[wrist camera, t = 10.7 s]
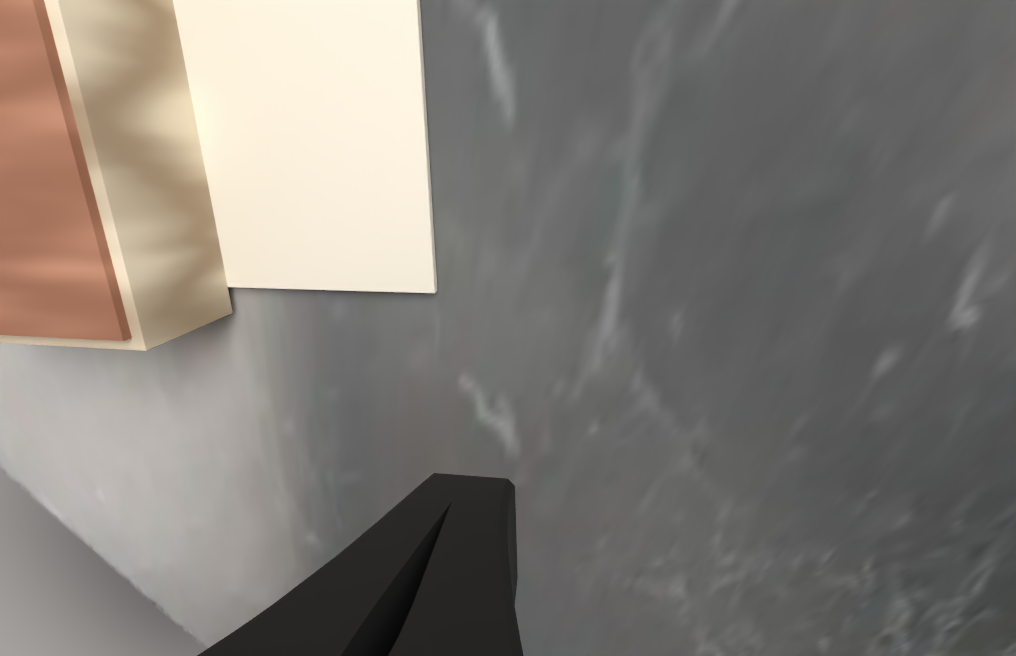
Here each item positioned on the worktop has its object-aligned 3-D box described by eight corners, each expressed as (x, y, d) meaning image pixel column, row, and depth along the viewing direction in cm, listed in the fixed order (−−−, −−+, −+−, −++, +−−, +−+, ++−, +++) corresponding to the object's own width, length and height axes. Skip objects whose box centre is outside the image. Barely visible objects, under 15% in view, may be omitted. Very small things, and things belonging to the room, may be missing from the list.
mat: (437, 291, 18) (434, 293, 18) (-104, 275, 22) (-113, 277, 22) (400, -320, 13) (395, -330, 13) (-293, -200, 17) (-308, -206, 17)
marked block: (138, 354, 16) (-19, -252, 11) (-75, 342, 17) (-292, -204, 13) (232, 312, 20) (144, -146, 15) (54, 305, 21) (-76, -118, 17)
